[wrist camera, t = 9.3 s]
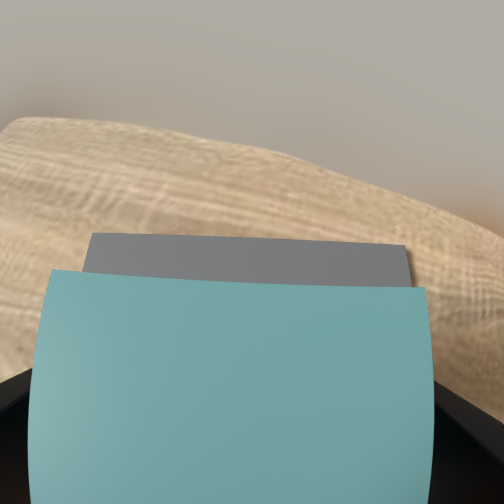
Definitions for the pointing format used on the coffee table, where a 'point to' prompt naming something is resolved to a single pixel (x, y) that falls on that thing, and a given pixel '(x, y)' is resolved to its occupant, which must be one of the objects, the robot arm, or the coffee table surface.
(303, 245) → the peg plate
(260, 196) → the coffee table surface
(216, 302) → the teal block
